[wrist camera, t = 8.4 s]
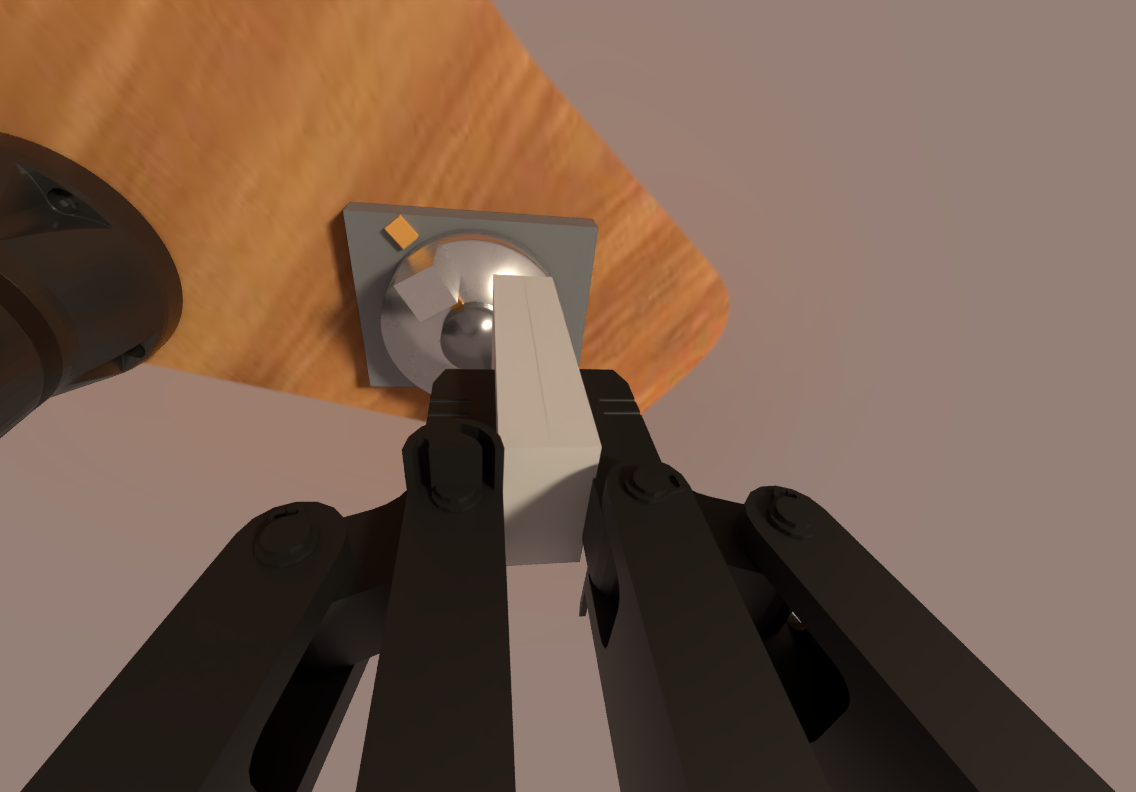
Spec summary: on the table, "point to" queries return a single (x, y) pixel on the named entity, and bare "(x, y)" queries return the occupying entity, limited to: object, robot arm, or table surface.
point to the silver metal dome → (449, 301)
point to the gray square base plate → (397, 229)
